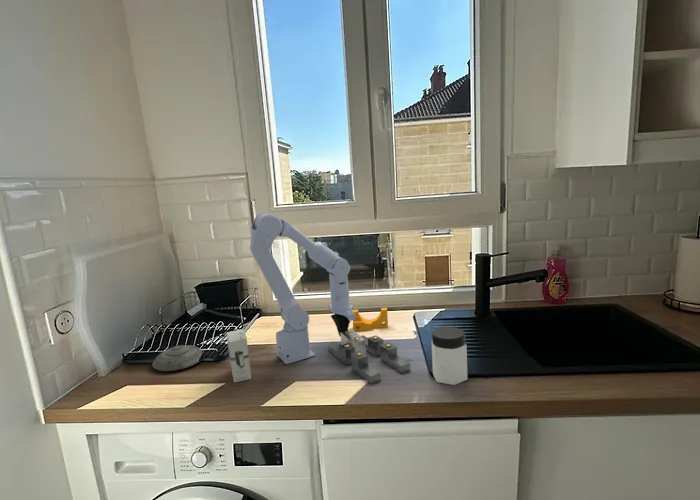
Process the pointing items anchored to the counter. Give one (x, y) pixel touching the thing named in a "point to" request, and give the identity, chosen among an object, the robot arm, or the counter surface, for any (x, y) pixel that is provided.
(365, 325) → the pipe clamp
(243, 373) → the ink box
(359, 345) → the block with brass knobs
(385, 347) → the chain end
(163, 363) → the flying saucer
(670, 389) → the counter surface
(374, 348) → the chain end
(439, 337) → the jar
